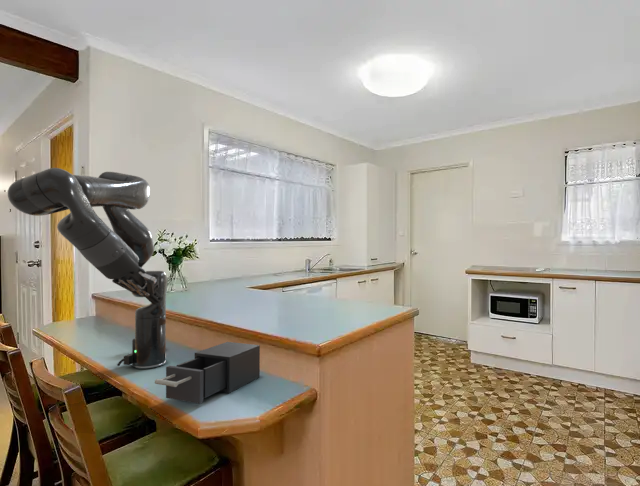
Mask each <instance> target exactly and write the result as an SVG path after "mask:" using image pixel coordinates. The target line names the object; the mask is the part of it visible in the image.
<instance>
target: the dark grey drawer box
mask: <svg viewBox="0 0 640 486" xmlns="http://www.w3.org/2000/svg"><path fill="white" fill-rule="evenodd" d="M260 348H261V345H260V344H253V343H252V344H250V343H241V342H232V341H226V342H222V343H220V344H216V345H214V346H210V347H208V348H205V349H202V350H199V351H196V352H194V359H195V358H198V357H208V358H216V359H224V360H227V387H226V388H224V389H222V390H220V391H218V393H219V392H221V393H226V394H231V393H233V392H234V391H236V390H238V389H240V388H242V387H244V386H246V385H247V384H250V383H252V382H254V381H255V380H257V379H259V378H260V376H261V375H260V368H261V364H260V363H261V362H260V361H261V359H260V358H261V357H260V356H261V349H260Z"/></svg>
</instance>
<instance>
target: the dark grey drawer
mask: <svg viewBox="0 0 640 486" xmlns="http://www.w3.org/2000/svg"><path fill="white" fill-rule="evenodd" d="M154 384H155V385H160V386H165V399H171V400H176V401H181V402H182V401H183V402H186V403H187V402H188V403H193V404H199V405H201V404H203V403H204V399H207V398H208V397H211V396H213V395H215V394H216V393H219V391H220V390H222V389H224V388H226V387H227V360H224V359H216V358H208V357H198V358H195V357H194V358H192V359H190V360H186V361H184V362H181V363H179V364H176V365H167V366H165V377H162V378H155V380H154Z"/></svg>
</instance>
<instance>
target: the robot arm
mask: <svg viewBox="0 0 640 486" xmlns="http://www.w3.org/2000/svg"><path fill="white" fill-rule="evenodd" d="M150 196H151V188H150V185H149V183H148V181H147V180H146V179H144V178H143V177H140V176H137V175H132V174H127V173H122V172H115V171H104V172H102V173H100V174H99V176H98V177H97V176H90V175H82V174H81V175H80V174H79V175H78V174H73V173H70V172H69V171H68V170H65V169H63V168H60V167H50V168H47V169H43V170H41V171H39V172H36V173H34V174H31V175H28V176H25V177H22V178H20V179H17V180H16V181H14V182H12V183H11V185H10V186H8V190H7V198H8V202H9V203H10V204H11V205H12V207H14V208H15V209H16V210H18V211H19V212H20V213H23V214H25V215H30V216H34V217H40V216H41V217H42V216H47V215H52V214H56V213H60V212H63V211H67V210H69V211H70V212H69V213H68V214H66V215H65V216H64V217H62V219H60V220H59V222H58V223H57V224H56V225H57V226H56V228H57V231H58V233H60V235H62V237H63V238H65V239H66V240H67V241H68V242H69V243H70V244H71V246H73V247H74V248H75V249H76V250H77V251H78V252H79V253H80V254H81V255H82V257H83V258H84V259H85V260H86V261H88V262H89V263H90V264H91V265H92V266H93V267H94V268H95V269H97V271H98V272H100V274H102V275H103V276H104V277H105V278H106V279H109V280H111V281H112V283H113V284H115V285H117V286H119V287H121V288H123V289H125V290H127V291H128V292H130V293H131V294H132V295H133V297H135V298H146V300H148V301H149V302H150V303H149V304H146V305H143V306H141V307H138V308H137V309H135V311H134V318H135V319H134V338H133V339H132V341H131V342H132V345H131V347H132V349H131V351H132V352H131V353H128V354H126V355H124V356H123V358H122V359H120V360H119V361H118V363H117V364H116V366H118V367H120V365H121V364H122V363H123V365H124V366H130V365H131V366H132V367H133V368H135V369H139V370H146V369H147V370H148V369H153V368H158V367H161V366H164V365H165V364H166V363H167V360H166V358H167V349H166V348H167V347H166V346H167V341H166V340H167V315H166V314H167V290H168V289H167V288H168V275H167V273H166V272H165V271H164V270H145V269H144V268H143V267H144V266H145V264H146V263H148V261H149V260H150V259H151V258H152V256H153V254H154V252H155V245H154V240H153V236H152V233H151V231H150V229H149V228H148V227H147V225H145V224H144V223H143V222H142V221H141V220H140V219H139V218H138V217H136V216H135V215H134V213H132V211H130V210H141V209H143V208H144V207H146V205H147V204H148V203H149V200H150ZM98 207H99V208H100V207H102V209H103V211H104V213H105V215H106V217H107V219H108V221H109V224H110V226H111V228H110V227H109V226H108V225H107V224H106V223H105V221H103V219H102V218H101V217H100V216H98V214H97V213H96V211H95V210H94V208H98Z"/></svg>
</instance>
